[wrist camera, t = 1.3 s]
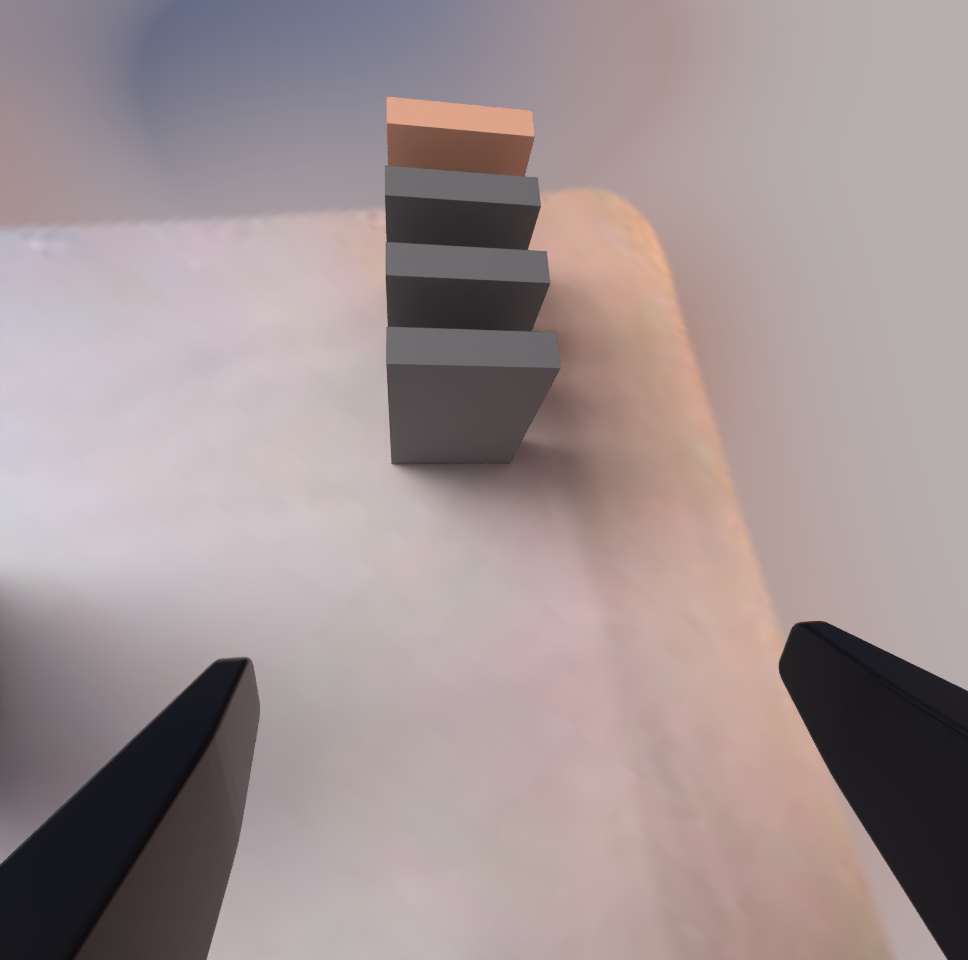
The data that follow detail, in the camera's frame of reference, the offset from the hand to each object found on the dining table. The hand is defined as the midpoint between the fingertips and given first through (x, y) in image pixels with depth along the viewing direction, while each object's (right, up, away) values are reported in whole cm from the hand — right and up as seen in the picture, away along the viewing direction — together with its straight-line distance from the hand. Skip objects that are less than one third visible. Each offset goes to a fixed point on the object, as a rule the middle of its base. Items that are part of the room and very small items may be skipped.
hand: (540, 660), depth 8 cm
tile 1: (-2, +4, +15) cm, 16 cm away
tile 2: (-2, +7, +16) cm, 18 cm away
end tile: (-3, +12, +18) cm, 22 cm away
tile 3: (-3, +10, +17) cm, 20 cm away
